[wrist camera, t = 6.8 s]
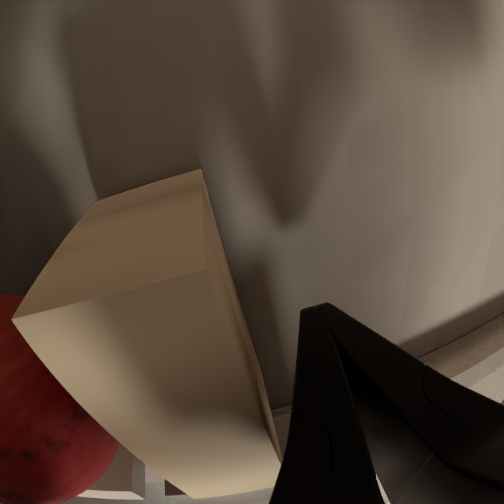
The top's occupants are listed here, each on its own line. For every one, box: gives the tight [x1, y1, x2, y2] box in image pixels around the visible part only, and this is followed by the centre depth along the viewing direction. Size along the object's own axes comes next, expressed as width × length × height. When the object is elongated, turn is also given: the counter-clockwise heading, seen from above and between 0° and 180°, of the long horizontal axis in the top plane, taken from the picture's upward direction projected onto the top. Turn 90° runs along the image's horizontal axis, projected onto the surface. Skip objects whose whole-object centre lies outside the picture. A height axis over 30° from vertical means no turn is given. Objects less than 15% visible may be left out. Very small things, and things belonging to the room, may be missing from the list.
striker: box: [11, 169, 291, 504], centre depth 9 cm, size 14×5×5 cm, turn 12°
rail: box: [145, 313, 504, 482], centre depth 13 cm, size 2×31×2 cm, turn 102°
